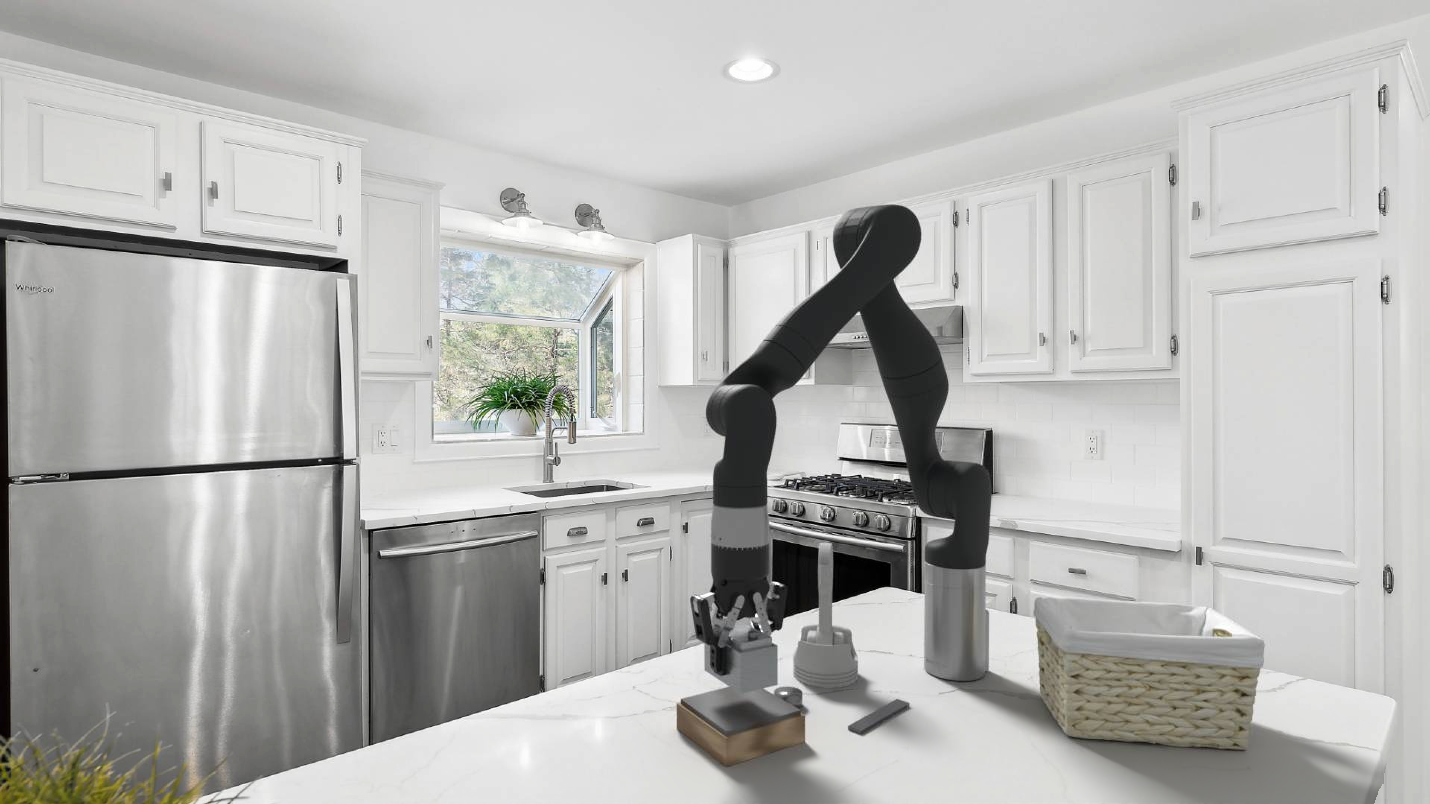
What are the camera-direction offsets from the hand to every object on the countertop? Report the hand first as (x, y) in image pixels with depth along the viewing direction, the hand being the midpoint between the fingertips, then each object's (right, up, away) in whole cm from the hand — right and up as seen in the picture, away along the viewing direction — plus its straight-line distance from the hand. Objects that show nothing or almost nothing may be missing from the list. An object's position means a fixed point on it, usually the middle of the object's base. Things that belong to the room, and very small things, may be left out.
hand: (740, 668), depth 99 cm
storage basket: (+53, -9, +4) cm, 54 cm away
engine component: (+14, -8, +21) cm, 27 cm away
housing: (0, -1, 0) cm, 1 cm away
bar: (+19, -9, +5) cm, 22 cm away
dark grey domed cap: (+7, -9, +10) cm, 15 cm away
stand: (0, -9, 0) cm, 9 cm away
